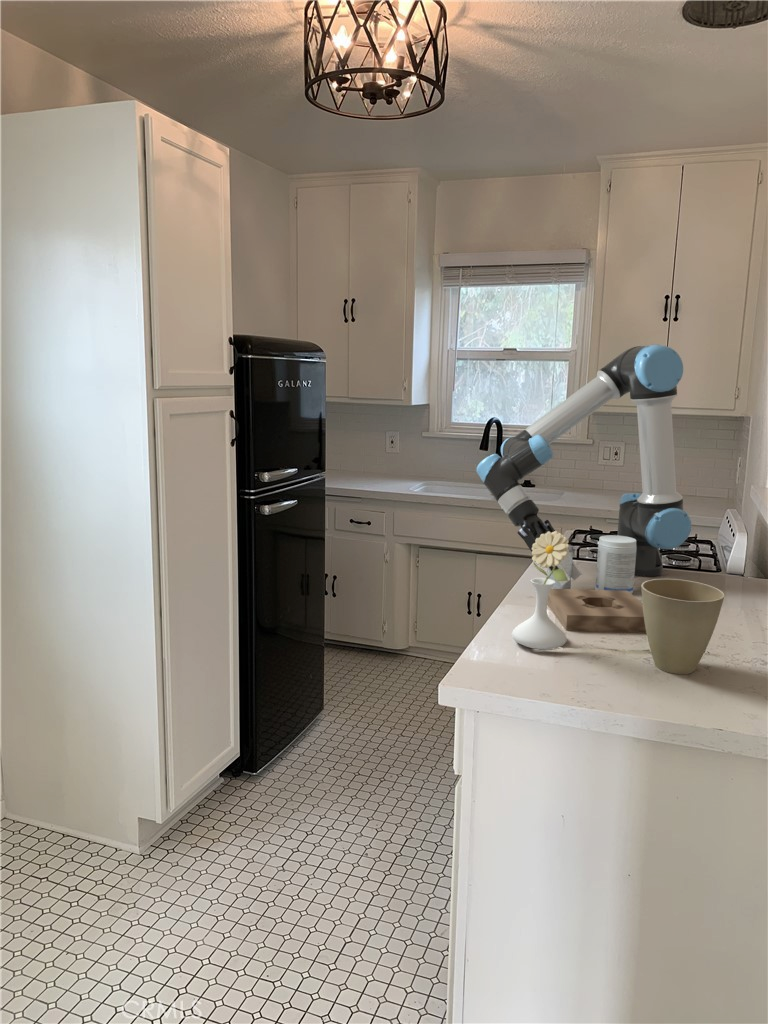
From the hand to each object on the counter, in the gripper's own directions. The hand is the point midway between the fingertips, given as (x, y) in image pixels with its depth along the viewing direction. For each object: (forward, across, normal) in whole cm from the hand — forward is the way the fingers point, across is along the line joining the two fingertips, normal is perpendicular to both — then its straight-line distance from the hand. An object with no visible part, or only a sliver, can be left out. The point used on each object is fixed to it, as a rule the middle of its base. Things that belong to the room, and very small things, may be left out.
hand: (572, 579), depth 186 cm
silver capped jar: (+1, 0, -6) cm, 6 cm away
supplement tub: (+8, -14, 0) cm, 16 cm away
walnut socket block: (+12, +11, +5) cm, 17 cm away
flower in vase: (+11, +35, +3) cm, 36 cm away
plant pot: (+28, +27, +20) cm, 44 cm away
